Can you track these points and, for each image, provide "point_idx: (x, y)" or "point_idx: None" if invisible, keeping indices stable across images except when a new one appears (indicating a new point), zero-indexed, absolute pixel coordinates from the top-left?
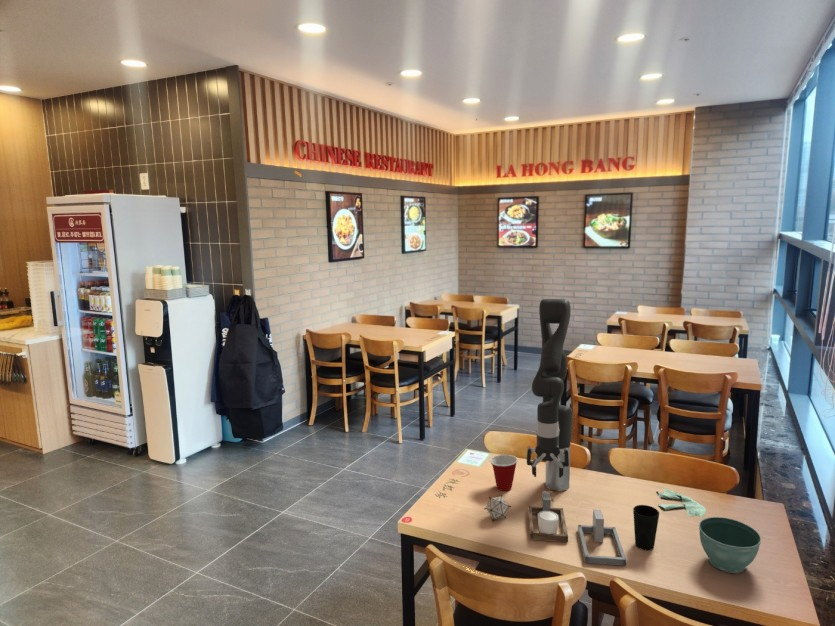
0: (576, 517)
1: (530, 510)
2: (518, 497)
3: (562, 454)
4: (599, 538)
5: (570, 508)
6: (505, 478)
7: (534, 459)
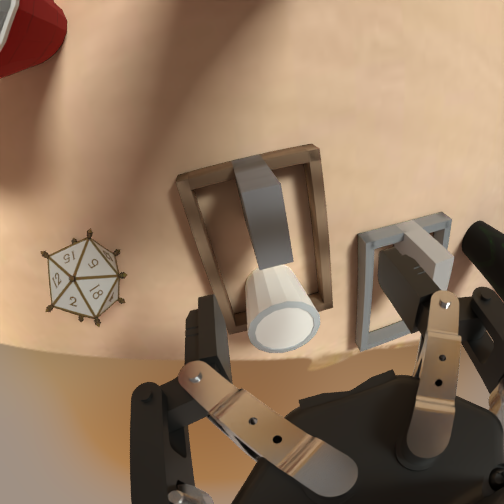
0: (357, 152)
1: (192, 212)
2: (109, 77)
3: (490, 402)
4: None
5: (337, 92)
6: (18, 67)
7: (209, 413)
